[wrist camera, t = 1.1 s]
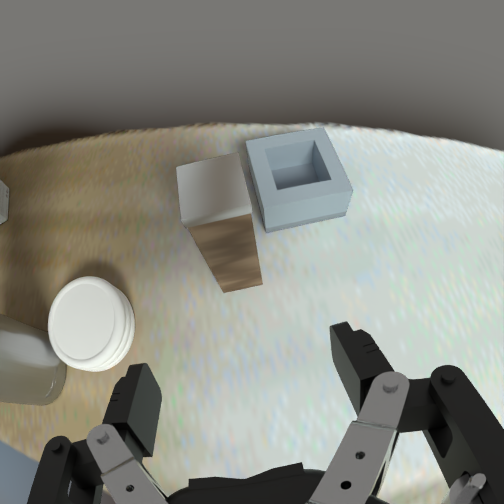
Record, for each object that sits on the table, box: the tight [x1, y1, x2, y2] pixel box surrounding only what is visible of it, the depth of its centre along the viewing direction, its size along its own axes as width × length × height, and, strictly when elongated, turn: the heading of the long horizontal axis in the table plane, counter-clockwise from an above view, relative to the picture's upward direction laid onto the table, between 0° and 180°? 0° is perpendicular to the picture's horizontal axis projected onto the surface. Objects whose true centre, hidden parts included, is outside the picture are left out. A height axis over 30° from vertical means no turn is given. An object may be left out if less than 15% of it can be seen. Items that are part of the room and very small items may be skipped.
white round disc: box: [48, 276, 135, 372], centre depth 31 cm, size 10×10×4 cm
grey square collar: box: [245, 127, 353, 233], centre depth 34 cm, size 9×9×5 cm
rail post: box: [176, 152, 263, 293], centre depth 27 cm, size 4×4×15 cm
